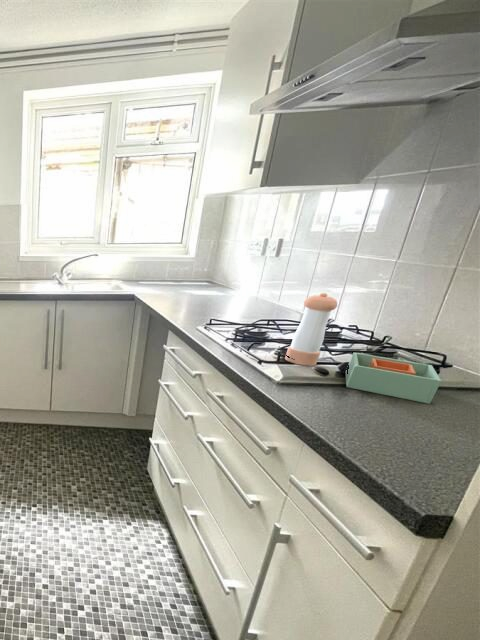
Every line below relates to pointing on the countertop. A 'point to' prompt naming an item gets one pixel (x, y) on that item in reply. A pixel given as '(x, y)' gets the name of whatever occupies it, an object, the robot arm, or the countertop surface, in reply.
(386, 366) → the small bin
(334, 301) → the pepper shaker
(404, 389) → the big bin
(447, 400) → the countertop surface
